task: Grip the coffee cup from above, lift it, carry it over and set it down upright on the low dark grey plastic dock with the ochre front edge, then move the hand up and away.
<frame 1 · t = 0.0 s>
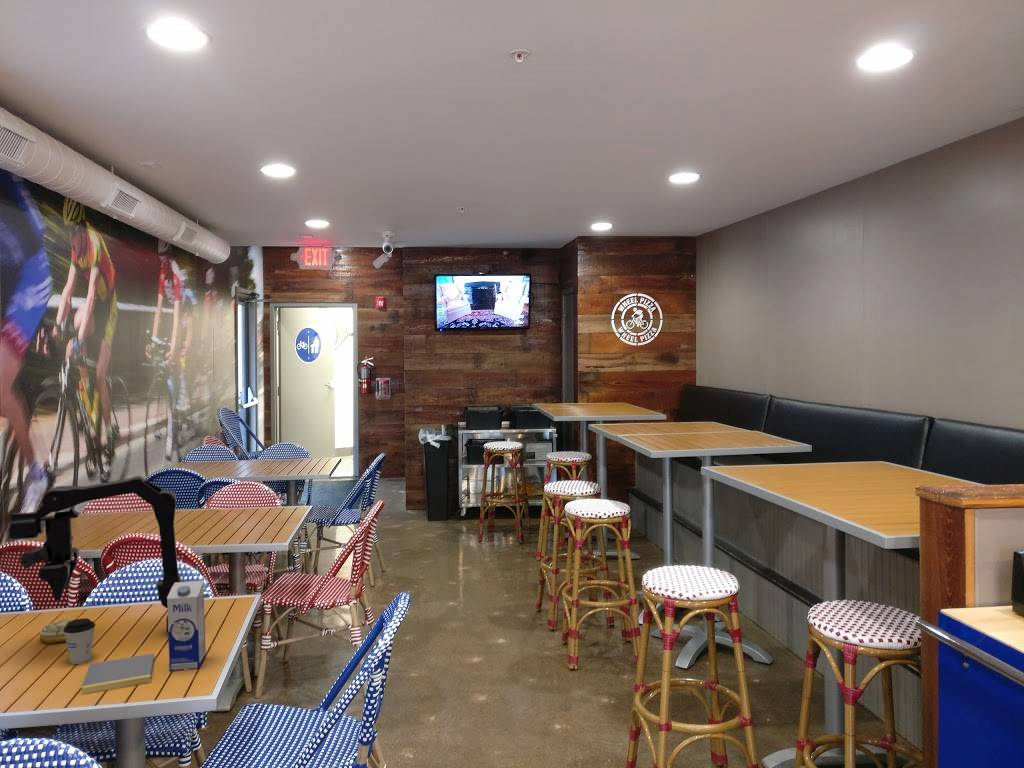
hand: (61, 594, 186), 15 cm above the table, tool pointing down, fingers open, 9 cm apart
decorated donut: (62, 638, 195), on the table
milk carton: (188, 665, 177), on the table
dock: (119, 675, 171), on the table
coffee cup: (80, 661, 179), on the table
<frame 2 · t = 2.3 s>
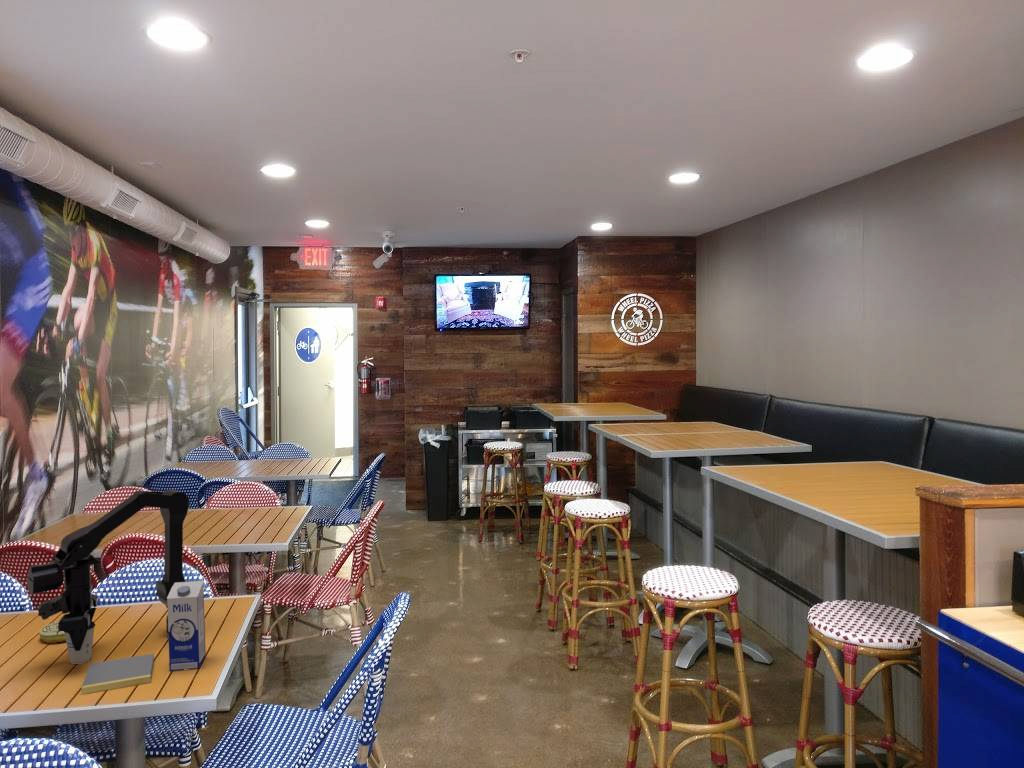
hand: (80, 645, 179), 4 cm above the table, tool pointing down, fingers closed on coffee cup, 7 cm apart
coffee cup: (80, 661, 179), on the table, touching gripper
everything else where it was.
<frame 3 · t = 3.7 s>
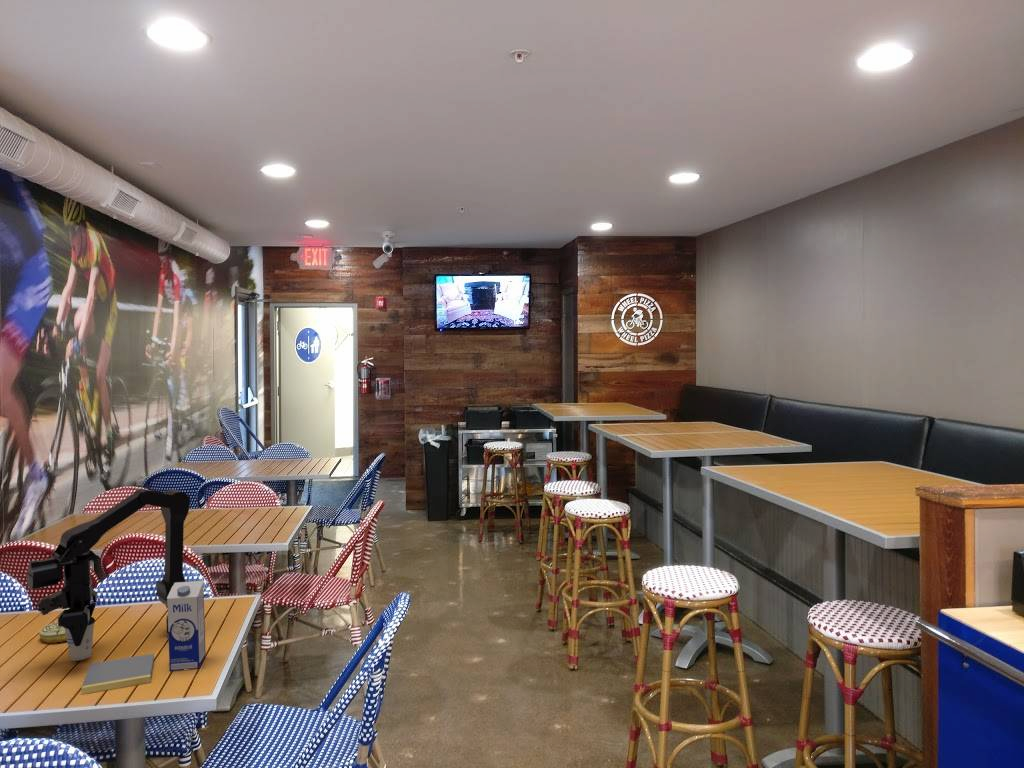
hand: (80, 640, 179), 5 cm above the table, tool pointing down, fingers closed on coffee cup, 7 cm apart
coffee cup: (80, 657, 179), point 1 cm above the table, touching gripper
everything else where it was.
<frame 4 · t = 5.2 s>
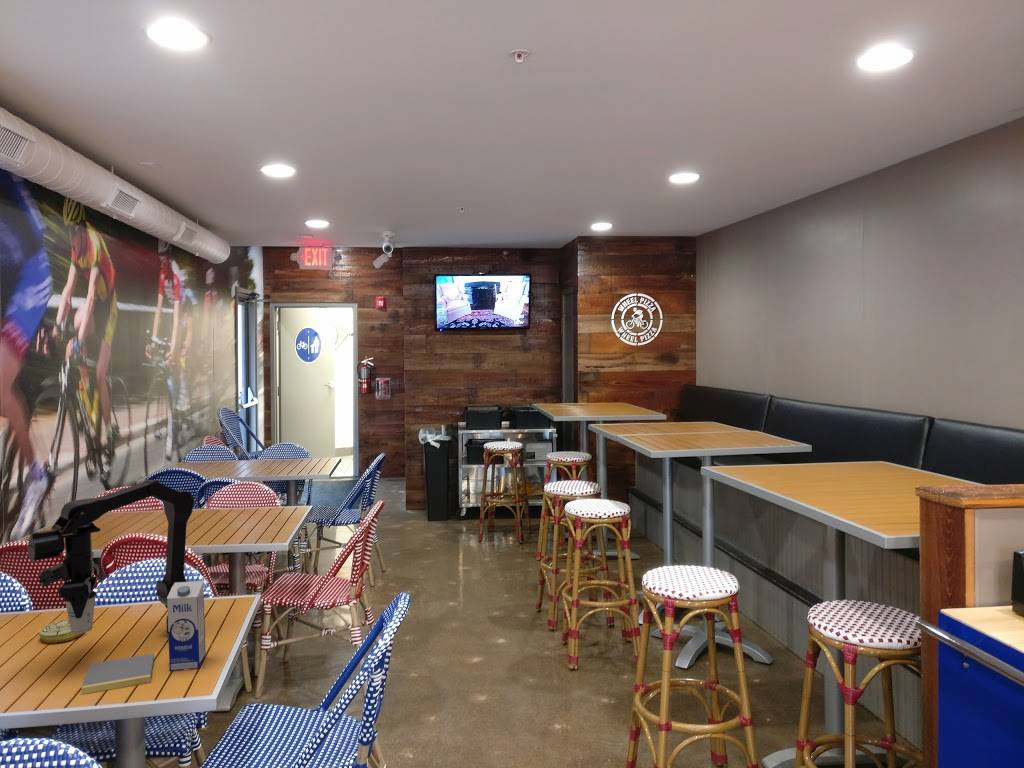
hand: (81, 613, 178), 12 cm above the table, tool pointing down, fingers closed on coffee cup, 7 cm apart
coffee cup: (81, 630, 179), point 8 cm above the table, touching gripper
everything else where it was.
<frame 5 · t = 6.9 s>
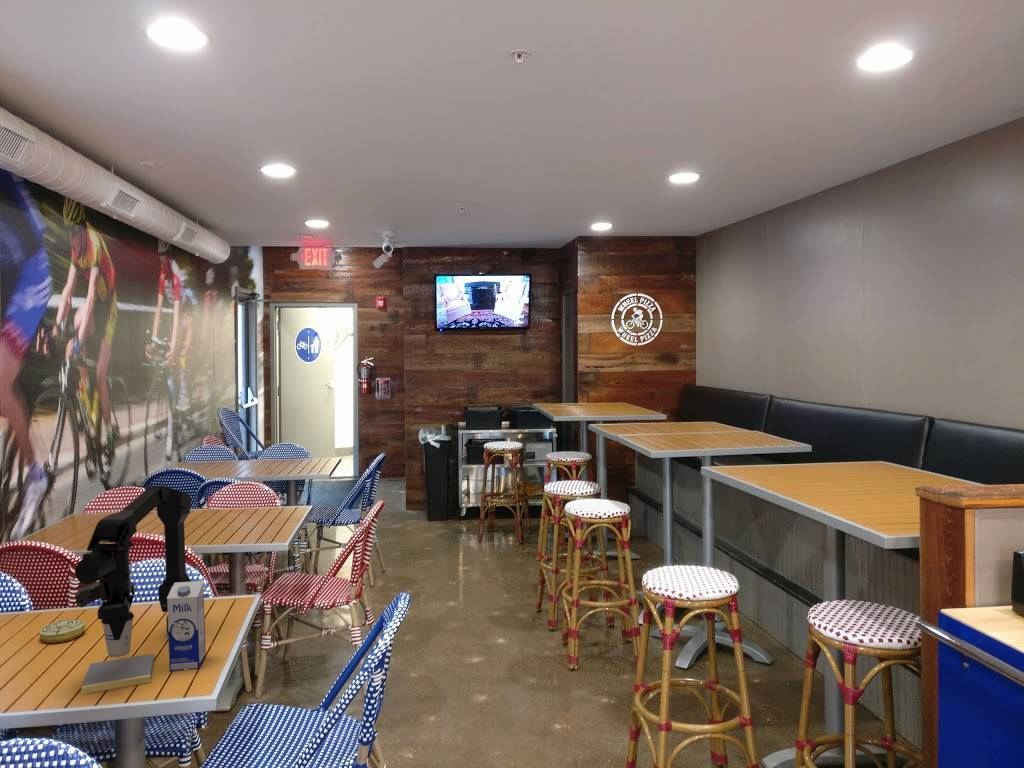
hand: (118, 634, 170), 10 cm above the table, tool pointing down, fingers closed on coffee cup, 7 cm apart
coffee cup: (119, 654, 171), point 5 cm above the table, touching gripper
everything else where it was.
when the fingers open (7 cm above the table, at t = 8.3 s): coffee cup stays where it is, resting on dock.
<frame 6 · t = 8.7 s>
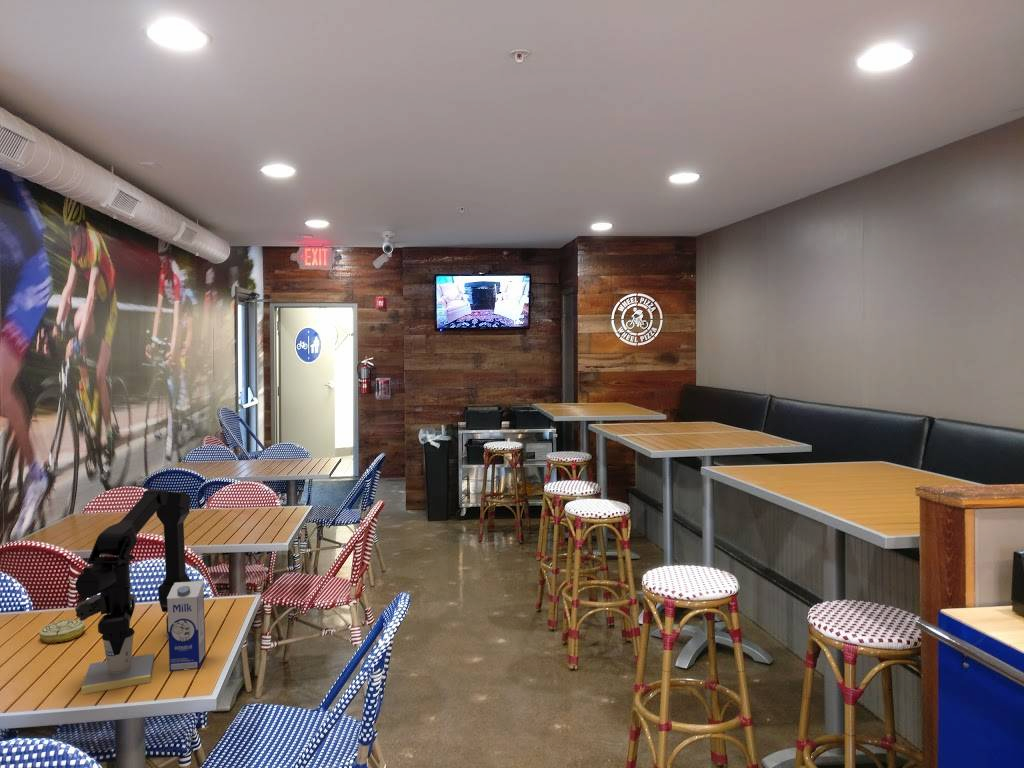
hand: (118, 647, 170), 7 cm above the table, tool pointing down, fingers open, 9 cm apart
coffee cup: (119, 670, 171), point 1 cm above the table, touching dock
everything else where it was.
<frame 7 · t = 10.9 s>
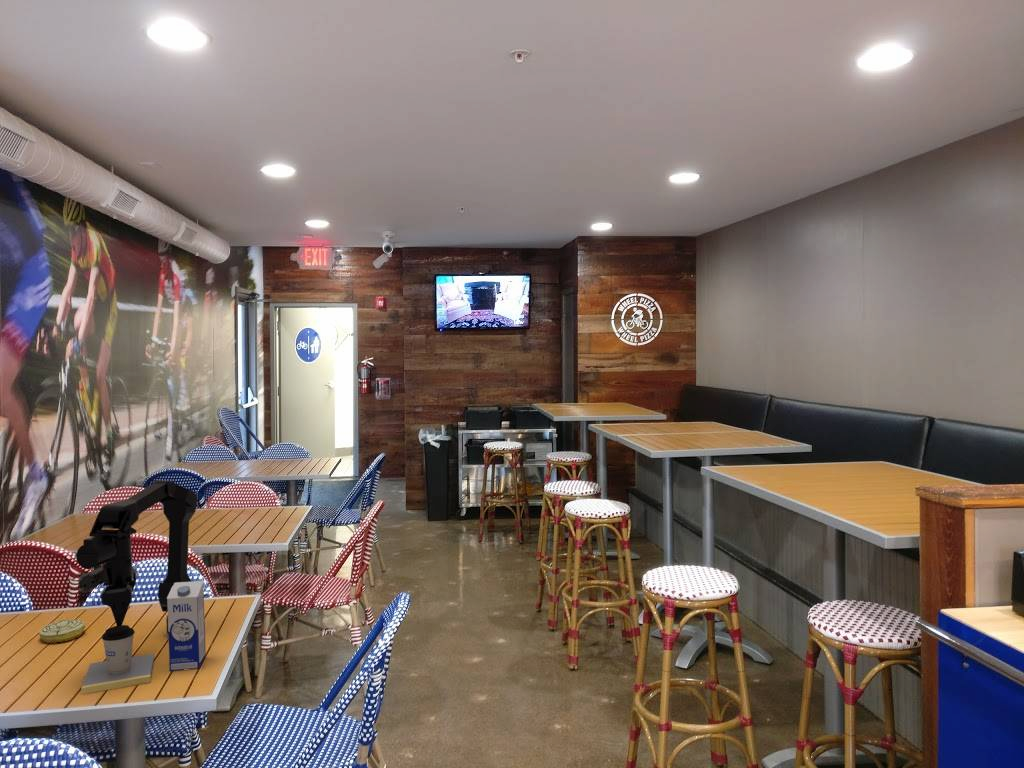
hand: (121, 618, 174), 13 cm above the table, tool pointing down, fingers open, 9 cm apart
nothing on the table moved.
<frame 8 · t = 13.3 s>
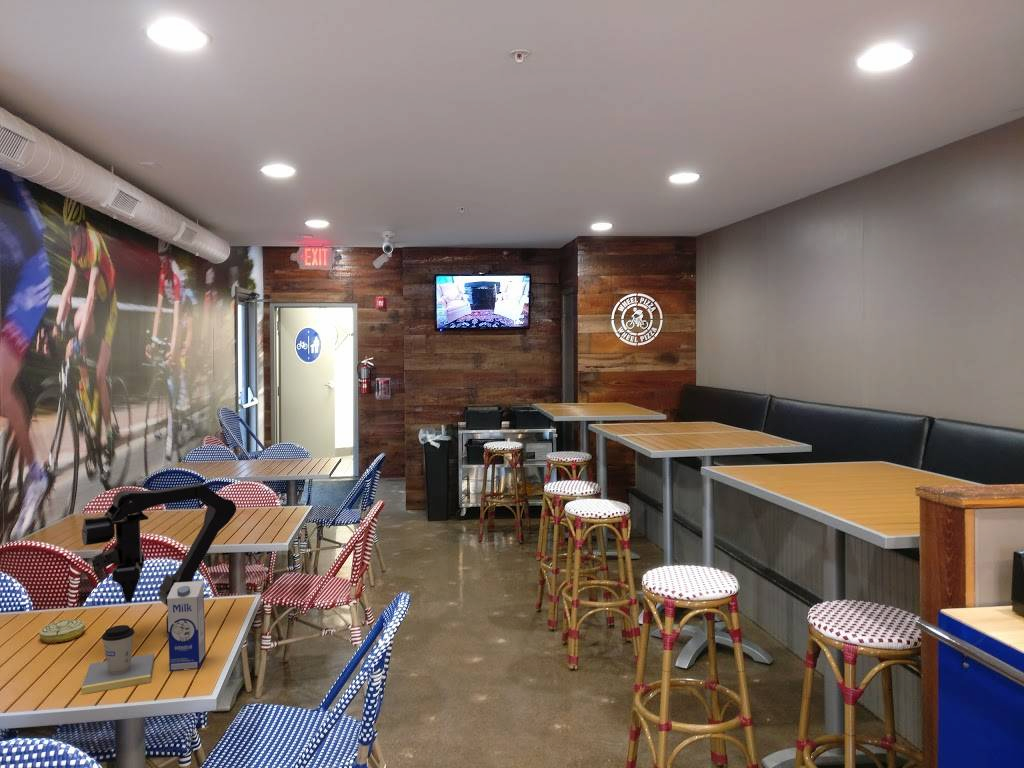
hand: (130, 596, 189), 13 cm above the table, tool pointing down, fingers open, 9 cm apart
nothing on the table moved.
at the end: coffee cup inside the target area on the dock (0.1 cm from its centre), point 1.3 cm above the dock's base; coffee cup tilted 0°; the gripper is holding nothing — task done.
